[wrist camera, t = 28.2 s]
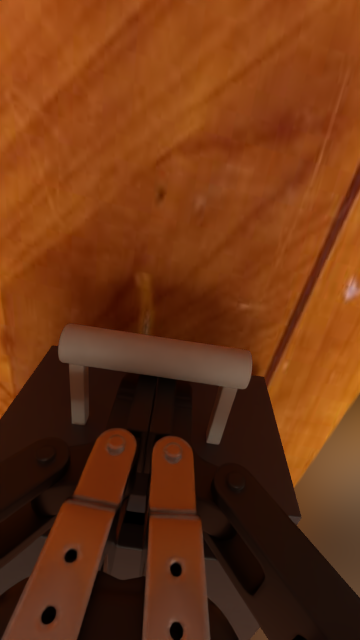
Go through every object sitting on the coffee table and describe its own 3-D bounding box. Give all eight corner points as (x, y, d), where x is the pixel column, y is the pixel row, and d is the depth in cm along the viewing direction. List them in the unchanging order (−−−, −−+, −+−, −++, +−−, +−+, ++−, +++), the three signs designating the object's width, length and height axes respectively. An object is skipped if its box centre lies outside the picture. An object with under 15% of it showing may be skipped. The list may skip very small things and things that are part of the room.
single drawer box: (51, 358, 20) (-60, 523, 11) (262, 389, 20) (307, 572, 12) (62, 488, 27) (2, 645, 19) (216, 509, 28) (223, 672, 19)
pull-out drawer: (45, 265, 15) (-76, 367, 9) (291, 303, 16) (361, 430, 9) (63, 479, 25) (13, 608, 18) (217, 501, 25) (223, 634, 19)
